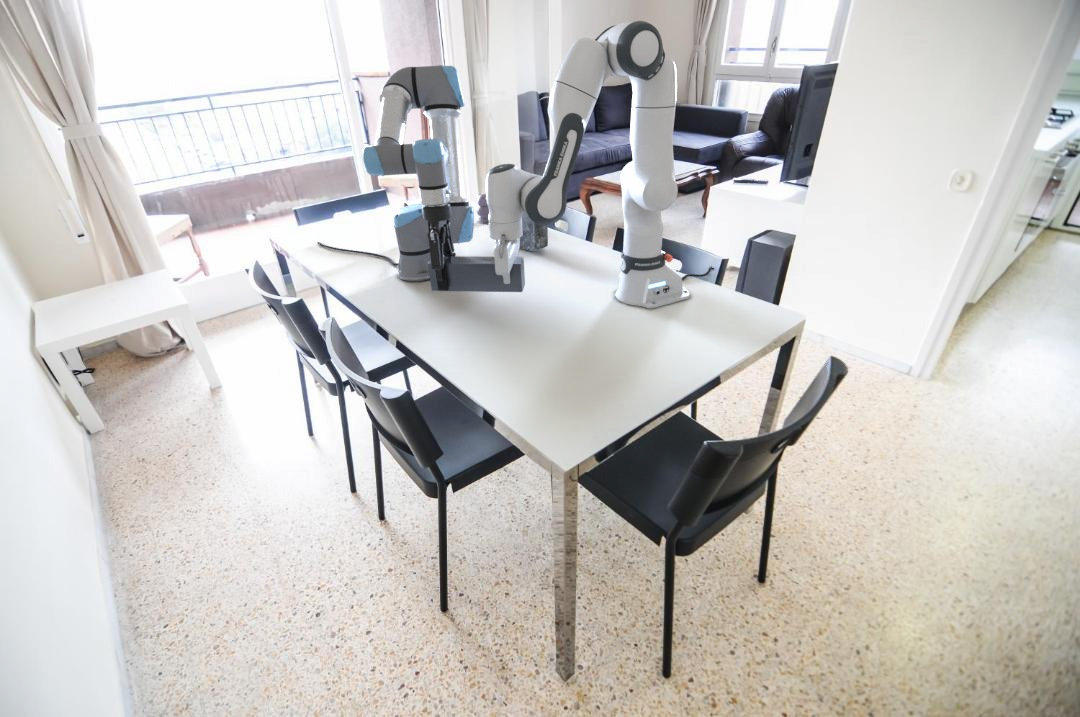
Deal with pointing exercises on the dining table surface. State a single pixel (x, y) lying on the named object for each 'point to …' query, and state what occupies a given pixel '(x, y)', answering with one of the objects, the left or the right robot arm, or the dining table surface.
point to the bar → (478, 275)
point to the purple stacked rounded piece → (482, 208)
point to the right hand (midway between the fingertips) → (509, 278)
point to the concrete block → (533, 235)
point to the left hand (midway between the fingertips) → (447, 284)
